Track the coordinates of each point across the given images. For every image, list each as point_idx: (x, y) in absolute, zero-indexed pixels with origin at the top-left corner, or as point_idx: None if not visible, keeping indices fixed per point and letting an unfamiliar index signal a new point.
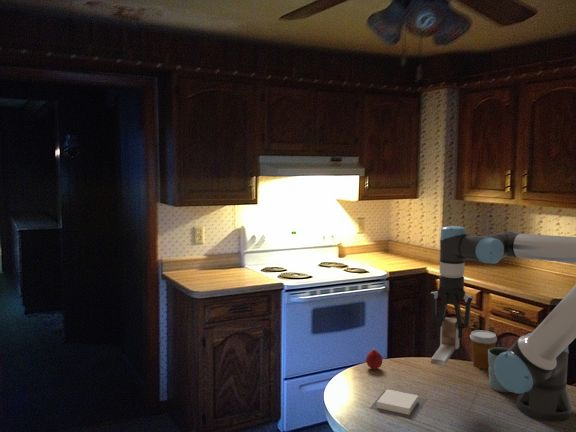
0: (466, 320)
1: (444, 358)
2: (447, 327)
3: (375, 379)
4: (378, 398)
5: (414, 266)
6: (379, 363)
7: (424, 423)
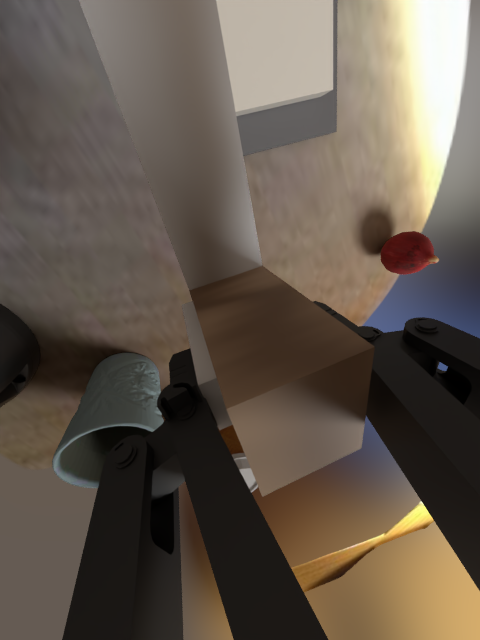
0: (110, 541)
1: None
2: (282, 332)
3: (370, 199)
4: (335, 48)
5: (395, 528)
6: (390, 248)
7: None
